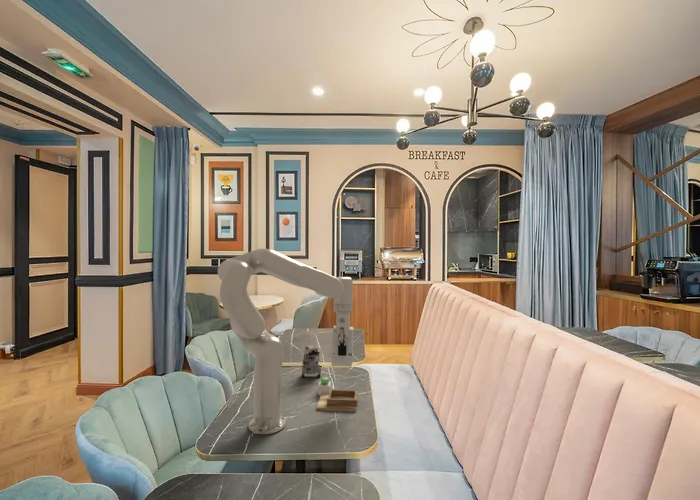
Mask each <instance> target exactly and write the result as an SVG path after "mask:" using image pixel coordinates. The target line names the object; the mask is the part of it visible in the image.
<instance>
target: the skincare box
mask: <svg viewBox="0 0 700 500" xmlns="http://www.w3.org/2000/svg"><path fill="white" fill-rule="evenodd" d="M354 329H355V327H354V326H351V325H350V329H349V338H348V337H346V356H338V345H339V337H337V325H333V329H332V345H331V346H332V347H331V363H330V364H331V366H332V367H352V365H353V353H354V352H353V351H354V350H353V349H354V331H355V330H354ZM338 336H339V335H338ZM343 337H345V336H343ZM343 340H344V339H343Z"/></svg>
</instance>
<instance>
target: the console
mask: <svg viewBox="0 0 700 500" xmlns="http://www.w3.org/2000/svg"><path fill="white" fill-rule="evenodd" d="M330 389H332V381H330V380H329V383H327V384H322V383H321V380H320V381H319V382H318V385H317V395H318V396H321V393H326V394H329V390H330Z"/></svg>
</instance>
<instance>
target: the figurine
mask: <svg viewBox="0 0 700 500" xmlns="http://www.w3.org/2000/svg"><path fill="white" fill-rule="evenodd" d="M303 352H304V354H303V359H302V365H301V378H303V377H304V378H305V376H306V375H316V374H317V378H321V373H322V371H321V369H322V368H321V364H319V362H320V351H319V349H318V348H315V347H314V345H312V344H308V345H305V347H304V351H303Z"/></svg>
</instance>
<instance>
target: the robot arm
mask: <svg viewBox="0 0 700 500" xmlns="http://www.w3.org/2000/svg"><path fill="white" fill-rule="evenodd" d="M258 273H264V274H266V275H268V276H271V277H273V278H276V279H279V281H280V280H281V281H283V282H285V283H287V284H290V285H293V286H296V287H297V288H298V287H299V288H305V289H308V290H311V291H313V292H314V293H316V295H318V296H320V297H324V298H330V299H333V312H334V313H336V318H335V319H336V321H335V322H336V326H337V337H339V345H338V356H346V337H348V338H349V329H350V326H351V313H353V292H354V291H353V290H354V289H353V285H354V283H353V279H352V277H350V276H338V277H337V276H333V275H331V274H328V273H327V272H325V271H322V270H319V269H316V268H314V267H311V266H309V265H307V264H305V263H302V262H300V261H297V260H296V259H293V258H291V257H288V256H287V255H285V254H283V253H280V252H278V251H276V250H273V249H271V248H257V249H254V250H251V251H249V252H245V253H243V254H239V255H237V256H234V257H231V258H228V259H225V260H224V261H223V262H221V263H220V264H219V266H218V267H217V276H218V278H219V279H220V281H221V283H220V288H219V299H220V302H221V305H222V307H223V309H224V311H226V313H227V315H228V317H229V324H230V328H231V330H232V331H233V332H234V334H235V335H236V337H237V338H238V340H239V341H240V343H241V344H242V345H243V347H244V348H245V350H246V351H247V352H248V353H249V354H250V355H251V356H253V357H254V358H255V365H254V369H253V418H252V419H251V420H250V421H249V422H248V430H249V431H250V432H252V433H253V434H255V435H270V434H274V433H278V432H280V431H281V430H282V429H284V428H285V427H286V425H287V424H286V423H287V421H286V418H285V417H284V416H283V415H282V389H283V388H282V387H283V386H282V384H283V383H282V373H283V372H282V371H283V370H282V367H283V360H284V354H285V351H284V350H285V349H284V344H283V342H282V341H281V339H279V338H278V337H277V336H275V335H274V334H272V333H270V332H268V331H267V330H266V321H265V319H264V316H263V315H262V314H261V313H260V311H259V309H257V307H256V306H255V304H254V302H253V301H252V299H251V298H250V296H249V294H248V285H249V282H250V279H251V277H252V276H254V275H256V274H258ZM338 335H339V336H338ZM343 336H345V337H343ZM343 339H344V340H343Z"/></svg>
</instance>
